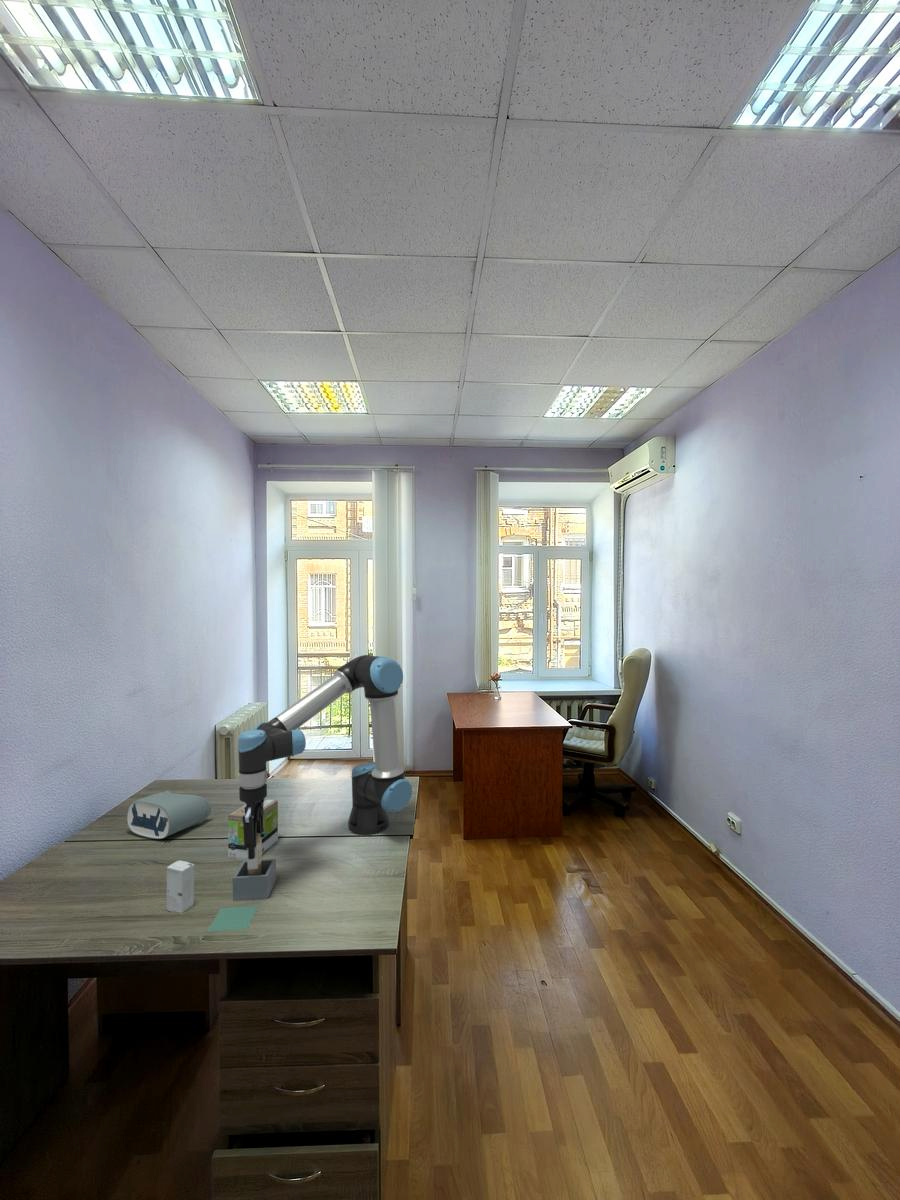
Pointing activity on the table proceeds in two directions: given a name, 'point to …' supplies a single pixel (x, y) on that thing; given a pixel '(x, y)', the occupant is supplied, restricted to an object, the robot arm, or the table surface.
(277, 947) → the table surface
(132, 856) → the table surface
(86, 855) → the table surface
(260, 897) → the pen cup
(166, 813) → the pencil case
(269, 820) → the tea box
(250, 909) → the mat
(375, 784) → the robot arm
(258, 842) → the dowel
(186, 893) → the skincare box
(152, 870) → the table surface
